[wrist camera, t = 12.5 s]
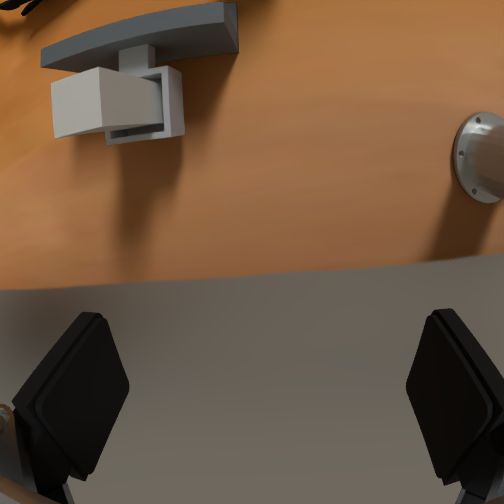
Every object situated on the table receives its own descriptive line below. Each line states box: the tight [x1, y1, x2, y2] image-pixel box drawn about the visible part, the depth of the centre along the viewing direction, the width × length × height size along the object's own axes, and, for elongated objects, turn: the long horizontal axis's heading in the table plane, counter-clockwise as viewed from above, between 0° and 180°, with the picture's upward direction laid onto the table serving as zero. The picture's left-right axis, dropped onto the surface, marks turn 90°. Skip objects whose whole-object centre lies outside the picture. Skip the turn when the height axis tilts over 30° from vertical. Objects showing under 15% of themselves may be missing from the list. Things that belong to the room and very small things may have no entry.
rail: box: [51, 67, 164, 139], centre depth 23 cm, size 4×4×14 cm
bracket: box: [41, 2, 239, 146], centre depth 27 cm, size 18×16×12 cm
